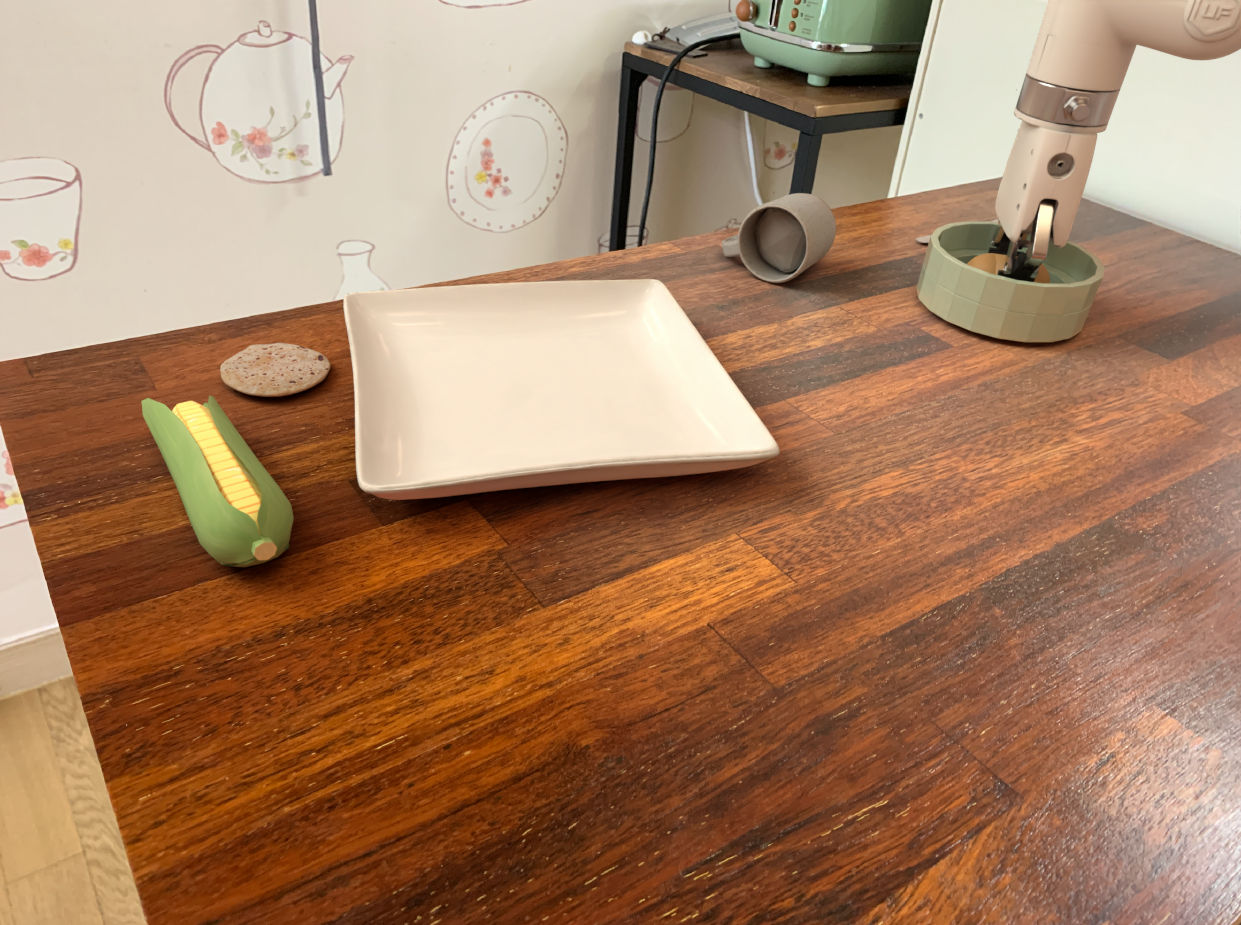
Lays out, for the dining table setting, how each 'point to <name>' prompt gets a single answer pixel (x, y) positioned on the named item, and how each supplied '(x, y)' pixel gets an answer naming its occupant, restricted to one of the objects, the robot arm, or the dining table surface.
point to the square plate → (538, 389)
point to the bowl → (1006, 287)
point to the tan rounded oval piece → (996, 263)
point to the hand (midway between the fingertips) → (999, 298)
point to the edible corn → (221, 483)
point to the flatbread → (274, 369)
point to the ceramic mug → (783, 237)
